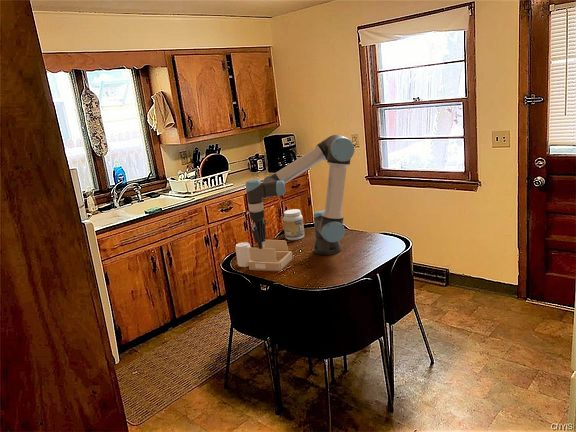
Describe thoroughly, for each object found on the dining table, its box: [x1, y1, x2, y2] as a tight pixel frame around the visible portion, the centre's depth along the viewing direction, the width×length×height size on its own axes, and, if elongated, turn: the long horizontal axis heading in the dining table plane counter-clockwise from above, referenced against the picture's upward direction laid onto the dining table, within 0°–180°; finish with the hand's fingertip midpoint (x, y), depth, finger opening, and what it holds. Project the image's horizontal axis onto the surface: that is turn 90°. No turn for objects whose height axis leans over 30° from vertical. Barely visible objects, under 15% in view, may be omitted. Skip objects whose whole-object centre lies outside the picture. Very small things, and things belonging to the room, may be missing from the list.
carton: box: [248, 250, 294, 273], centre depth 249 cm, size 19×17×4 cm
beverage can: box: [234, 241, 252, 268], centre depth 252 cm, size 8×8×12 cm
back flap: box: [264, 239, 290, 251], centre depth 253 cm, size 15×7×1 cm
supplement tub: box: [282, 208, 305, 241], centre depth 287 cm, size 12×12×17 cm
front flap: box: [249, 247, 277, 261], centre depth 240 cm, size 15×7×1 cm
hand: (262, 253), depth 241 cm, fingers closed
